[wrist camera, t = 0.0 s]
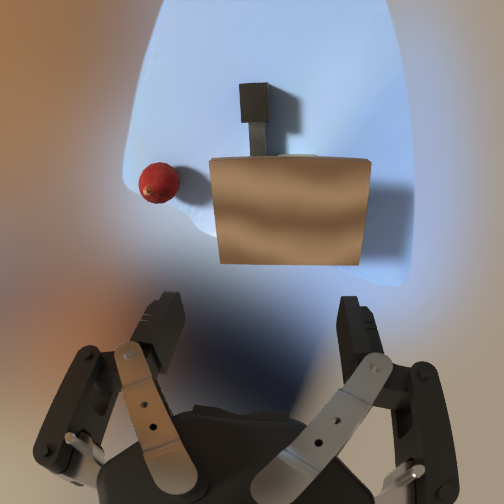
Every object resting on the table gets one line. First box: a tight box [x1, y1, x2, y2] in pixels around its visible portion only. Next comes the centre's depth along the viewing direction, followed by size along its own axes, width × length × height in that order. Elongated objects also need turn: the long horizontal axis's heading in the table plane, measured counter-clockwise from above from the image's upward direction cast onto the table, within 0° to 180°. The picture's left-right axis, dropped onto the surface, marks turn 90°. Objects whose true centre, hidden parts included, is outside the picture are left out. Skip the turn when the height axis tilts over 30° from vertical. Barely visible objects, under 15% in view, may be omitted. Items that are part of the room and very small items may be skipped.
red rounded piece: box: [139, 162, 180, 204], centre depth 38 cm, size 6×6×8 cm
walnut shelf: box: [209, 156, 371, 265], centre depth 35 cm, size 12×16×12 cm
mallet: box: [239, 82, 271, 156], centre depth 35 cm, size 18×12×4 cm
